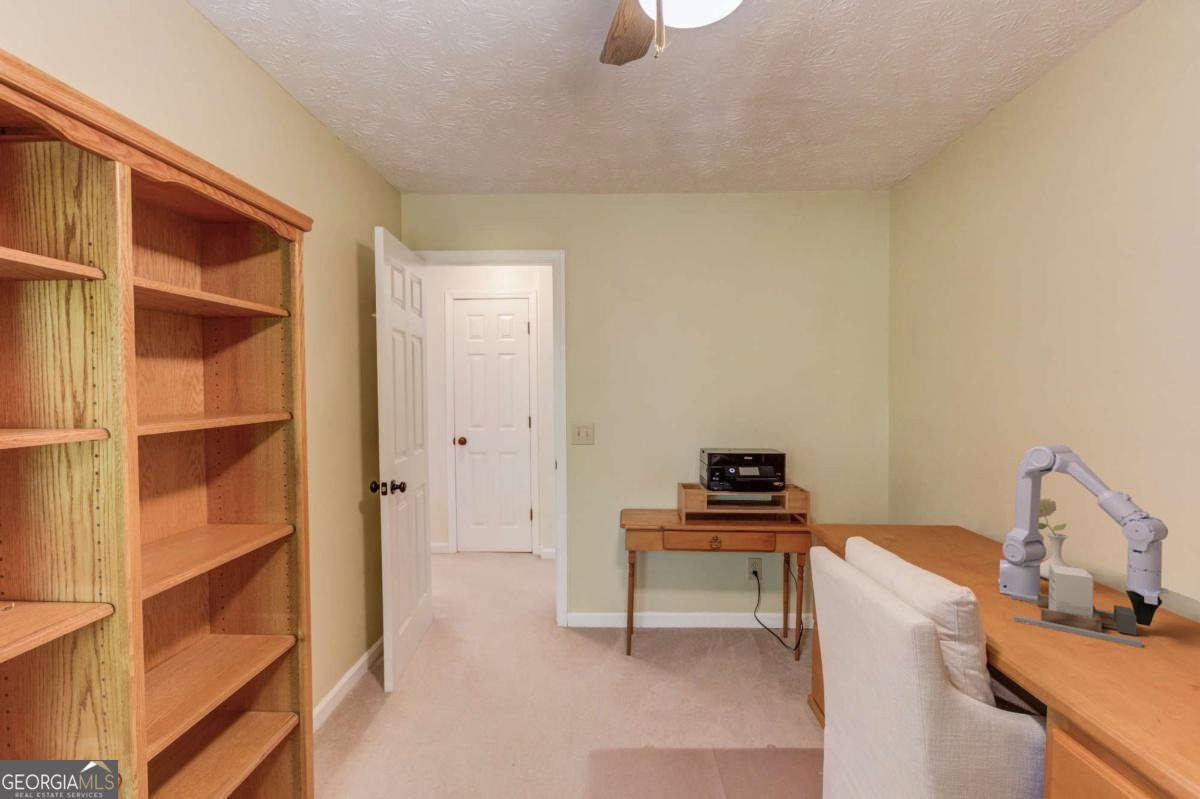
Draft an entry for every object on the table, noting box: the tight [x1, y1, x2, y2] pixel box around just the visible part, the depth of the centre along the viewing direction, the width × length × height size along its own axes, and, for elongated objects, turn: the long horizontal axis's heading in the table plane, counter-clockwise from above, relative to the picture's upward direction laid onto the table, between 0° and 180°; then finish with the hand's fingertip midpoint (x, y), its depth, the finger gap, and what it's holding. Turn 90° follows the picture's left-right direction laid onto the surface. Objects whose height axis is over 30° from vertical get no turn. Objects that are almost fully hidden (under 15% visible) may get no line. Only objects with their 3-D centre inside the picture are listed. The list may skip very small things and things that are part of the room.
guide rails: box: [1010, 594, 1143, 648], centre depth 134 cm, size 23×19×1 cm
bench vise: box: [1036, 593, 1137, 636], centre depth 133 cm, size 18×13×4 cm
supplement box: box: [1048, 565, 1094, 618], centre depth 134 cm, size 7×7×13 cm
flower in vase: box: [1038, 497, 1071, 580], centre depth 163 cm, size 13×11×25 cm
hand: (1142, 624), depth 127 cm, fingers closed, pressing on bench vise
